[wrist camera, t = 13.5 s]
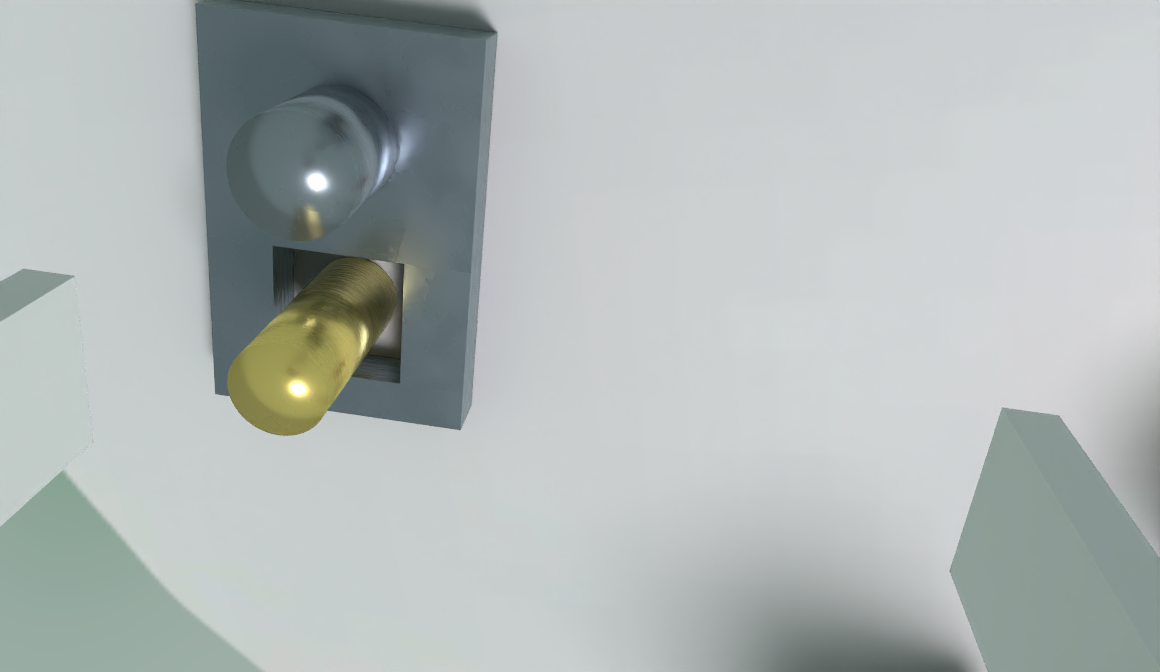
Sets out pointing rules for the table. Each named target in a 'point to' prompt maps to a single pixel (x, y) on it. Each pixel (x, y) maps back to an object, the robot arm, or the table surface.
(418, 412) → the gray peg plate
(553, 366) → the table surface
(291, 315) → the round pin
